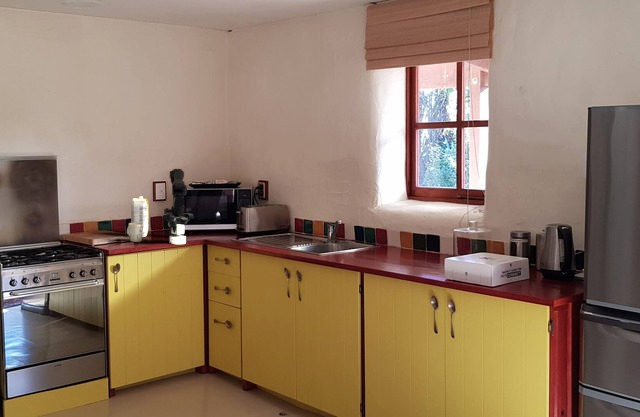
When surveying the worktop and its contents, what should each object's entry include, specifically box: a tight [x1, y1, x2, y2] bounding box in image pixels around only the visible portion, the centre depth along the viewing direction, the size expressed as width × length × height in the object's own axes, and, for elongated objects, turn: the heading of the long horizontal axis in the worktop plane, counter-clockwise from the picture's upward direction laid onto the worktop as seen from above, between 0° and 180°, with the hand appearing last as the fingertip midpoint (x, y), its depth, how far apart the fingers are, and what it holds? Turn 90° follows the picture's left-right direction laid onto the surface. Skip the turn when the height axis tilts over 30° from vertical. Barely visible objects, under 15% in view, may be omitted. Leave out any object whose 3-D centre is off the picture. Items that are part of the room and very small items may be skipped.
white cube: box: [172, 224, 185, 235], centre depth 428 cm, size 5×5×5 cm
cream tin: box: [169, 234, 187, 245], centre depth 428 cm, size 9×9×4 cm
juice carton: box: [130, 195, 149, 238], centre depth 446 cm, size 9×8×24 cm
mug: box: [126, 222, 144, 243], centre depth 430 cm, size 8×13×10 cm, turn 53°
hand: (177, 231), depth 428 cm, fingers closed on white cube, 5 cm apart
